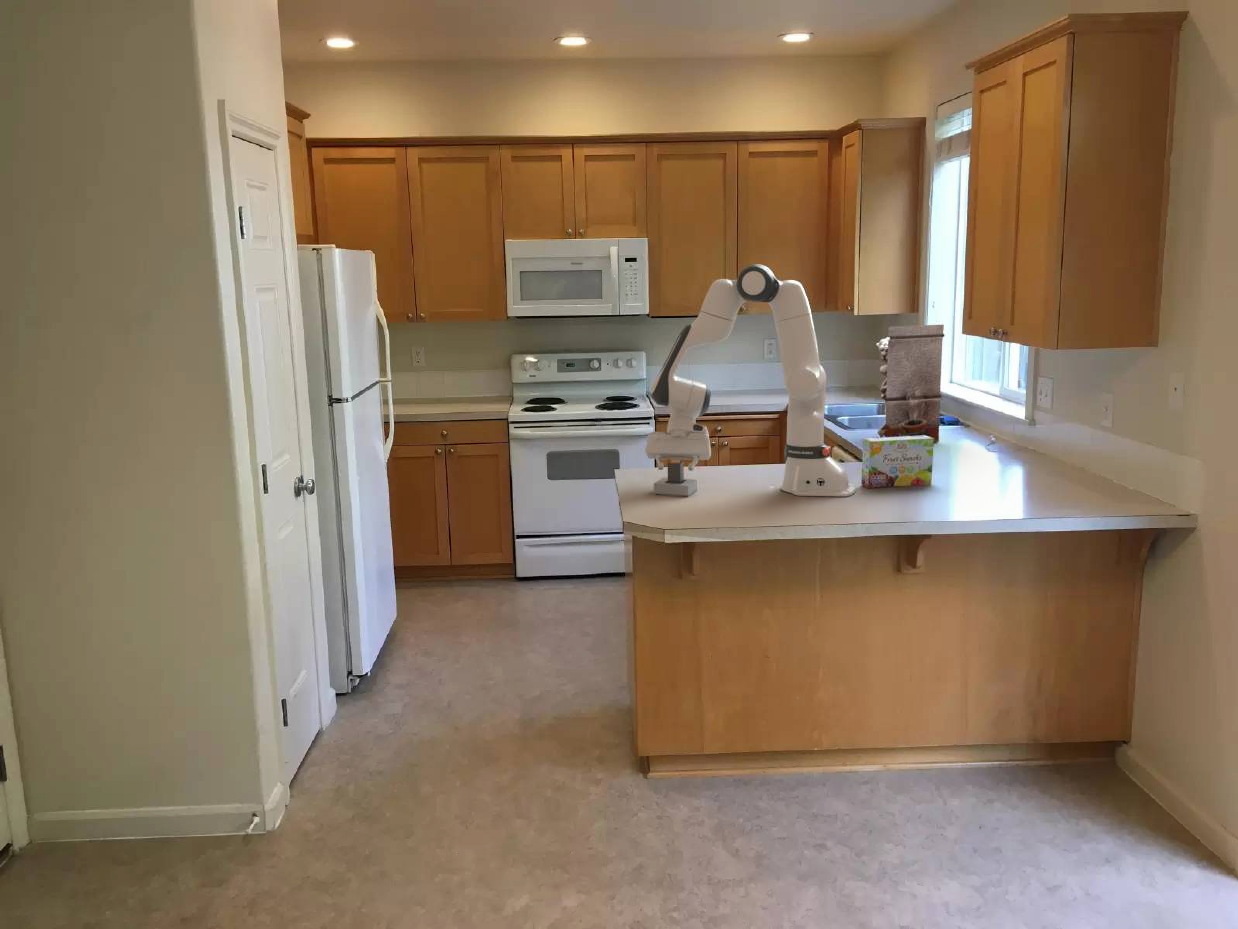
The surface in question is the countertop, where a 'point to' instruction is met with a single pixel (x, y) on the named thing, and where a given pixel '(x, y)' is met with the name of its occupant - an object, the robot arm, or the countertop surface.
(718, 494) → the countertop surface
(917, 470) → the snack box
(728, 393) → the countertop surface
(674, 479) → the plug
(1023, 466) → the countertop surface
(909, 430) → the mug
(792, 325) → the robot arm
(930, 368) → the cherub statue
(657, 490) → the socket plate
